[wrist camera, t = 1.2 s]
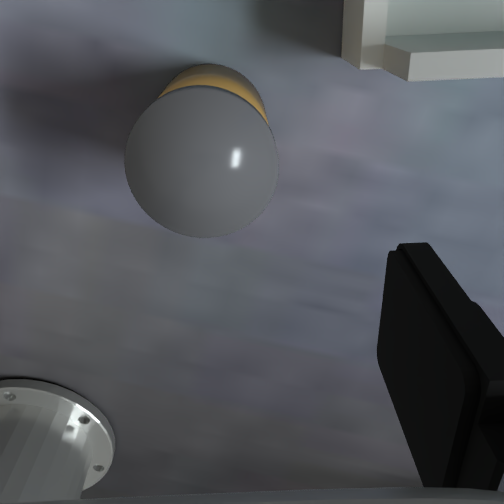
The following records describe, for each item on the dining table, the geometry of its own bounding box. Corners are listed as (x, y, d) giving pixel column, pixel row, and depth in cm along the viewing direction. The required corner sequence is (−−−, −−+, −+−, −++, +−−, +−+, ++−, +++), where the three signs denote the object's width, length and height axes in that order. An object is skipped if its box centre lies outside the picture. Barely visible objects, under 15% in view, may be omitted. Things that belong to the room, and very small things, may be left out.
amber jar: (269, 172, 27) (280, 234, 20) (163, 177, 27) (137, 241, 20) (266, 59, 24) (277, 85, 17) (147, 64, 24) (111, 93, 17)
